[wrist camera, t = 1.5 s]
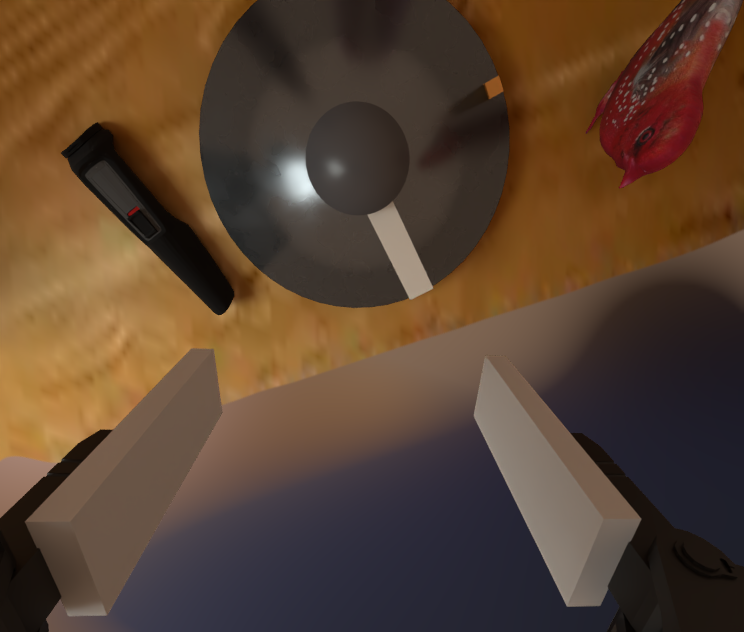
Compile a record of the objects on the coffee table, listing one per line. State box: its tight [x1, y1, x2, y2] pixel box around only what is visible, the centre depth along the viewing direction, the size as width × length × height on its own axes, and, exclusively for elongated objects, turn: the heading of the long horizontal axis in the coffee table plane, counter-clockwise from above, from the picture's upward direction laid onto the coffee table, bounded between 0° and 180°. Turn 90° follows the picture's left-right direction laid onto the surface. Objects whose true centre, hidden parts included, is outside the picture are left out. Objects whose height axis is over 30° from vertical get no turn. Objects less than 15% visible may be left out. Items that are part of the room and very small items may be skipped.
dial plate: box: [199, 0, 509, 308], centre depth 25 cm, size 22×22×2 cm
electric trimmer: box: [61, 122, 234, 315], centre depth 26 cm, size 4×16×3 cm, turn 33°
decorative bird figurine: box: [585, 0, 743, 188], centre depth 20 cm, size 3×18×10 cm, turn 154°
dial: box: [305, 101, 433, 300], centre depth 23 cm, size 12×6×5 cm, turn 27°
